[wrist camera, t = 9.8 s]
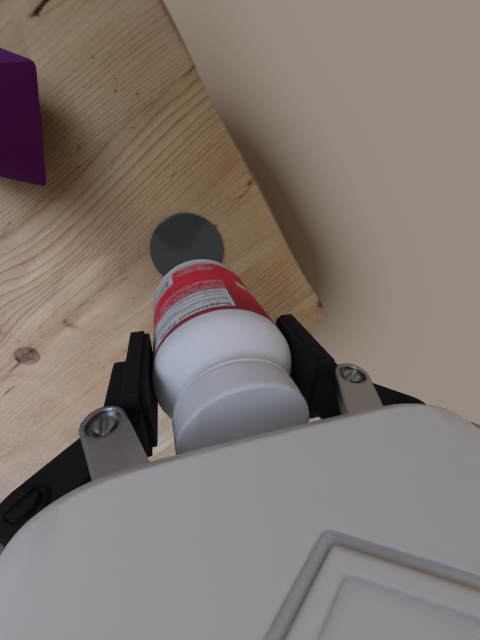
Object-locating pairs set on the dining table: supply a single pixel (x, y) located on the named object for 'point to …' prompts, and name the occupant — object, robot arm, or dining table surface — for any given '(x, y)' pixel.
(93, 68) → the dining table surface
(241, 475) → the robot arm
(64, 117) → the dining table surface
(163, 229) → the coaster
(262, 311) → the pill bottle
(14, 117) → the perfume bottle
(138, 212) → the dining table surface
